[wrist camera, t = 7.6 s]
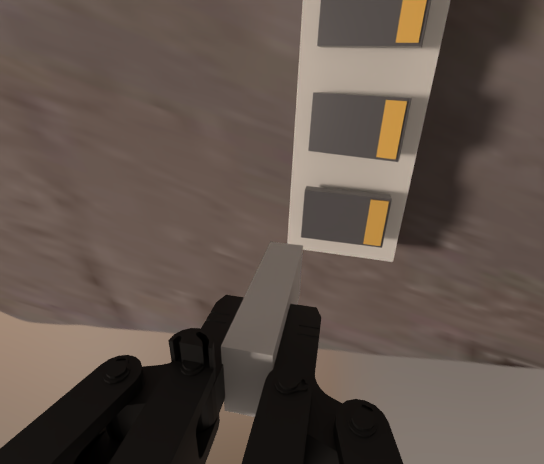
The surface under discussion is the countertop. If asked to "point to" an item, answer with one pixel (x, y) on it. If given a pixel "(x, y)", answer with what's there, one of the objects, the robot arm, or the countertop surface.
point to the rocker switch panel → (364, 81)
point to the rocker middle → (358, 125)
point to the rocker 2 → (345, 216)
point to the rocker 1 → (373, 23)
